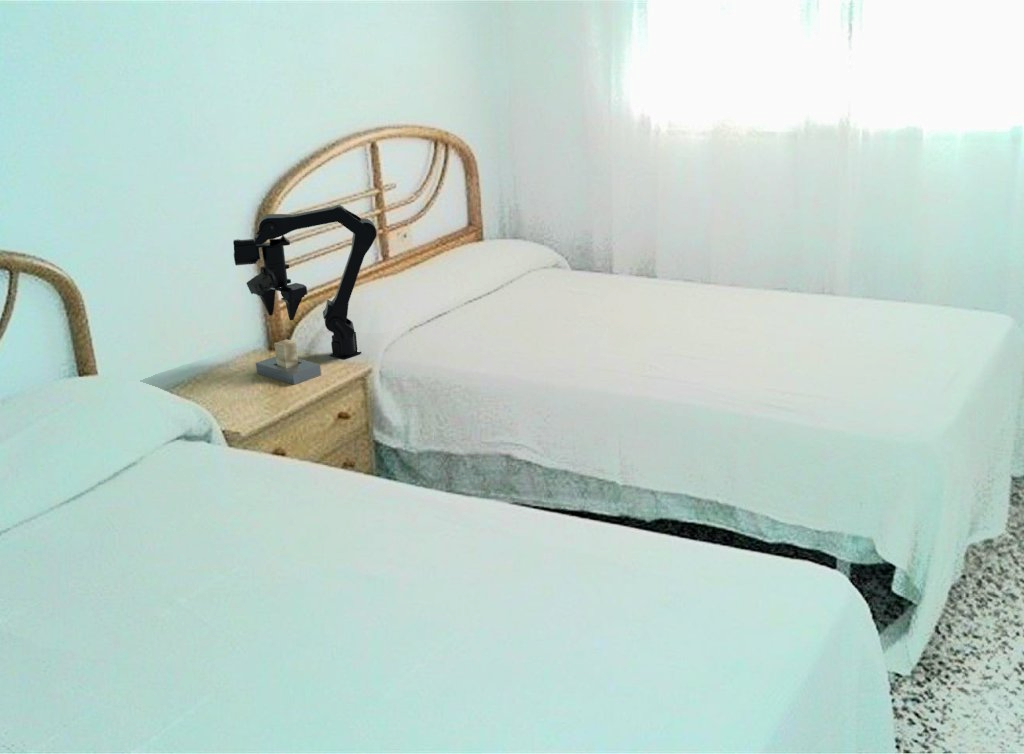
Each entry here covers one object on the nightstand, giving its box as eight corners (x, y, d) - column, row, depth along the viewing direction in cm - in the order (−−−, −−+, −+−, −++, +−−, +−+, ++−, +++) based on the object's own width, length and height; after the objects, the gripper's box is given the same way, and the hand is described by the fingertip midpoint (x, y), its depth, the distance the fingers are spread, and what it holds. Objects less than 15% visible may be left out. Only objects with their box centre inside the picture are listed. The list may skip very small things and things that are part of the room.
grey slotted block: (283, 364, 286) (282, 354, 285) (321, 375, 276) (319, 364, 275) (257, 373, 280) (255, 362, 279) (294, 384, 270) (292, 373, 269)
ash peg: (290, 371, 281) (286, 339, 278) (299, 373, 278) (295, 341, 275) (278, 375, 278) (274, 343, 275) (287, 377, 276) (283, 345, 273)
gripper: (228, 264, 280) (236, 319, 285) (271, 272, 268) (278, 330, 274) (262, 255, 288) (269, 309, 293) (305, 263, 276) (311, 320, 282)
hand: (281, 317), depth 285 cm, fingers open, 9 cm apart
